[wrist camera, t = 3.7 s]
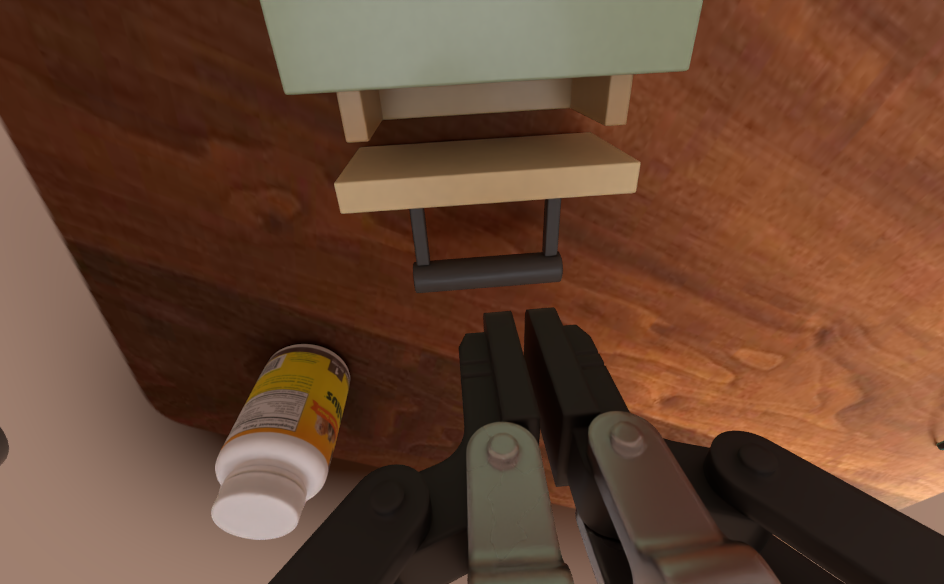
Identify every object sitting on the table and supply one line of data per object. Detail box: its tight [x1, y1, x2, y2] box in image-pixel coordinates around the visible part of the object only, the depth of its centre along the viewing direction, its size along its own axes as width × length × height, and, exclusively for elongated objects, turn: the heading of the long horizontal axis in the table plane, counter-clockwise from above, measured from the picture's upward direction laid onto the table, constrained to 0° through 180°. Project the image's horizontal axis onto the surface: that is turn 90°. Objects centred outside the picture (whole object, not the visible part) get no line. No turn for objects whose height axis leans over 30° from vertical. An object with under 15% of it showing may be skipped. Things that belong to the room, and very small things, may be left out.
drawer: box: [334, 74, 641, 293], centre depth 16 cm, size 18×11×6 cm, turn 3°
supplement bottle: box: [211, 344, 350, 540], centre depth 24 cm, size 6×6×10 cm
